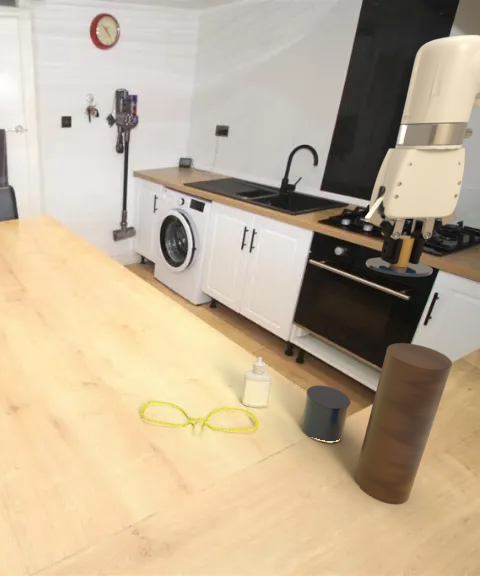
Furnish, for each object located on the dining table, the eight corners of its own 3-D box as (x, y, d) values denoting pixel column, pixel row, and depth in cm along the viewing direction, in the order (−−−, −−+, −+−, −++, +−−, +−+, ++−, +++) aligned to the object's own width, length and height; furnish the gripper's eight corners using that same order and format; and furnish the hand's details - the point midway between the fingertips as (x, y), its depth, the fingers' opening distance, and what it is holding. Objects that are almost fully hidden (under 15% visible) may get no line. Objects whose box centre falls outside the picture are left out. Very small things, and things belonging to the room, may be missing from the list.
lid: (407, 260, 69) (414, 230, 67) (446, 276, 61) (456, 243, 59) (354, 260, 69) (360, 231, 67) (386, 276, 61) (394, 244, 59)
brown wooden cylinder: (390, 468, 75) (427, 343, 66) (420, 505, 68) (466, 369, 59) (345, 467, 76) (376, 342, 67) (370, 503, 68) (408, 369, 59)
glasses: (254, 413, 91) (256, 394, 89) (263, 443, 82) (266, 424, 80) (141, 403, 95) (142, 385, 94) (138, 431, 86) (139, 412, 84)
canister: (331, 419, 89) (338, 385, 86) (350, 444, 81) (358, 408, 78) (294, 418, 89) (300, 385, 86) (309, 443, 82) (317, 408, 79)
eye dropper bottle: (263, 413, 91) (269, 366, 87) (238, 403, 94) (243, 357, 90) (269, 403, 94) (276, 357, 90) (245, 394, 98) (251, 350, 93)
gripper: (467, 136, 61) (434, 254, 68) (356, 139, 62) (334, 255, 68) (512, 136, 54) (471, 268, 61) (387, 139, 55) (359, 269, 61)
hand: (399, 260), depth 64 cm, fingers closed on lid, 2 cm apart
